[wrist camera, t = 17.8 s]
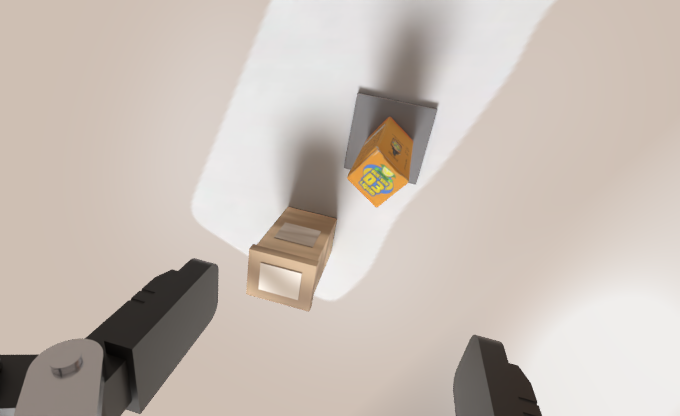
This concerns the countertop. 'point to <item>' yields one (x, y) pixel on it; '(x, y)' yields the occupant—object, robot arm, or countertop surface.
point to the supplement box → (383, 163)
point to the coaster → (406, 115)
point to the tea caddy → (291, 258)
